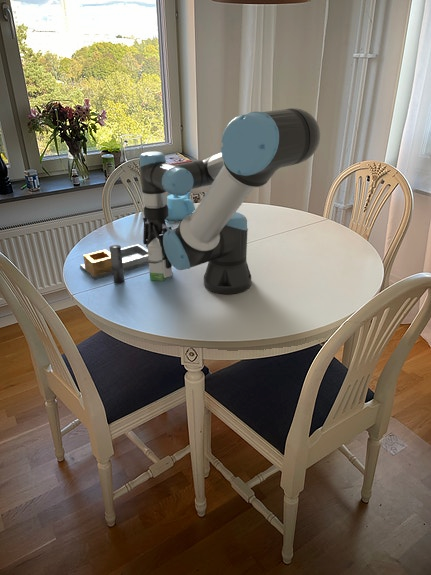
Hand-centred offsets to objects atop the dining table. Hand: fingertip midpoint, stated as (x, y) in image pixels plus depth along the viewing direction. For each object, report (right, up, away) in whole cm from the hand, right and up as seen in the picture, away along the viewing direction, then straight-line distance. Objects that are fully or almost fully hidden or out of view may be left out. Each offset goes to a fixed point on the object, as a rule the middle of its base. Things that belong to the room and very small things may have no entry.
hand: (160, 271), depth 147 cm
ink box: (0, -1, +1) cm, 2 cm away
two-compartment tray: (-16, +3, +8) cm, 18 cm away
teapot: (+1, +26, +53) cm, 60 cm away
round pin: (-13, -3, -3) cm, 14 cm away
